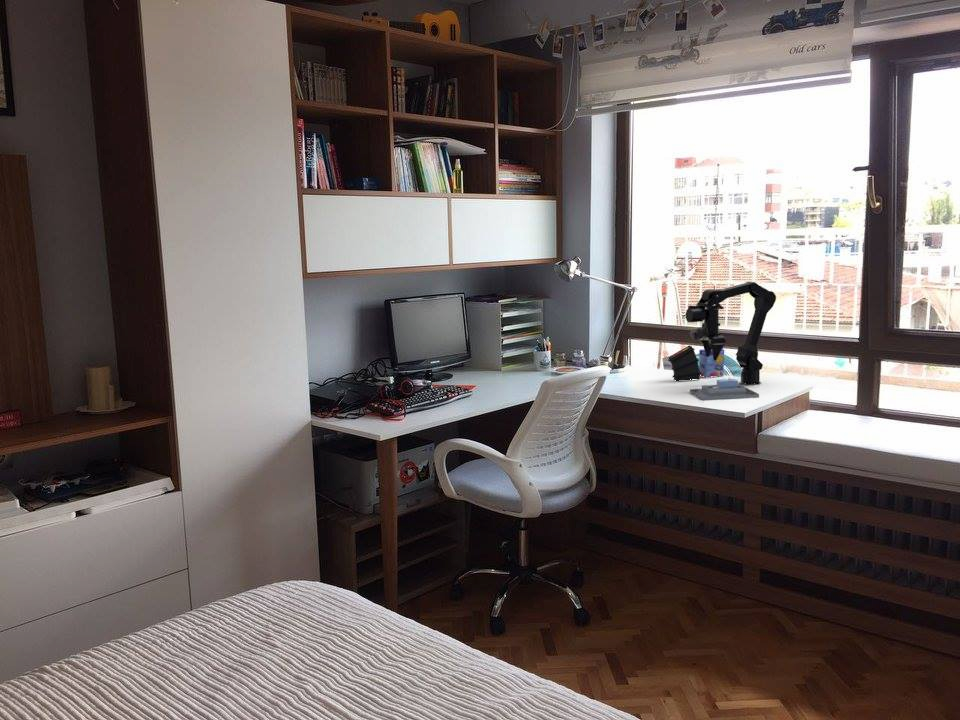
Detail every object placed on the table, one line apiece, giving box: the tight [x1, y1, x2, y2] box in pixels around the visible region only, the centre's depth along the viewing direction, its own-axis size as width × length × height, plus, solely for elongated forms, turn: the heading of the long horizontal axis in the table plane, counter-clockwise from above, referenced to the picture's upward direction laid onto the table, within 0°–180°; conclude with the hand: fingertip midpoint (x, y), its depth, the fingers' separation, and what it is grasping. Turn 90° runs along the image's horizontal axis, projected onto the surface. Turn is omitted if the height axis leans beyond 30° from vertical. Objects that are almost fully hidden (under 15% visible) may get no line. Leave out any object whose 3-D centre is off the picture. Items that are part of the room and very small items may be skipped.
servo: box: [713, 377, 739, 389], centre depth 318 cm, size 9×4×5 cm, turn 94°
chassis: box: [689, 383, 760, 401], centre depth 318 cm, size 22×16×3 cm
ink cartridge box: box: [698, 348, 725, 377], centre depth 357 cm, size 10×6×14 cm, turn 111°
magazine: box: [667, 345, 701, 382], centre depth 351 cm, size 4×13×15 cm, turn 97°
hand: (711, 358), depth 332 cm, fingers open, 9 cm apart
